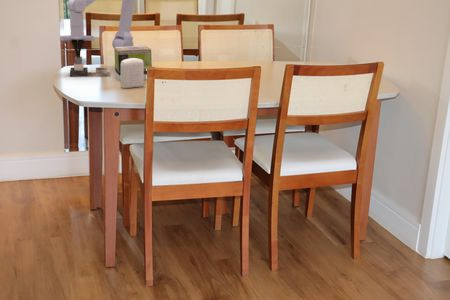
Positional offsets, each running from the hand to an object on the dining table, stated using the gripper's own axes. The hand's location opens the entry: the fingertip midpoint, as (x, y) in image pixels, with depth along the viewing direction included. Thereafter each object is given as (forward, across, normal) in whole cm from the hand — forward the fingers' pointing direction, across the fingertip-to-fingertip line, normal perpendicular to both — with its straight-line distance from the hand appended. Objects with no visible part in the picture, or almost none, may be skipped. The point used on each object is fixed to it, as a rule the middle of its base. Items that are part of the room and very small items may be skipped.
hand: (78, 56), depth 283 cm
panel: (+9, +5, 0) cm, 10 cm away
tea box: (+10, +24, -8) cm, 27 cm away
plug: (+8, 0, 0) cm, 8 cm away
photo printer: (+10, +23, -21) cm, 32 cm away
